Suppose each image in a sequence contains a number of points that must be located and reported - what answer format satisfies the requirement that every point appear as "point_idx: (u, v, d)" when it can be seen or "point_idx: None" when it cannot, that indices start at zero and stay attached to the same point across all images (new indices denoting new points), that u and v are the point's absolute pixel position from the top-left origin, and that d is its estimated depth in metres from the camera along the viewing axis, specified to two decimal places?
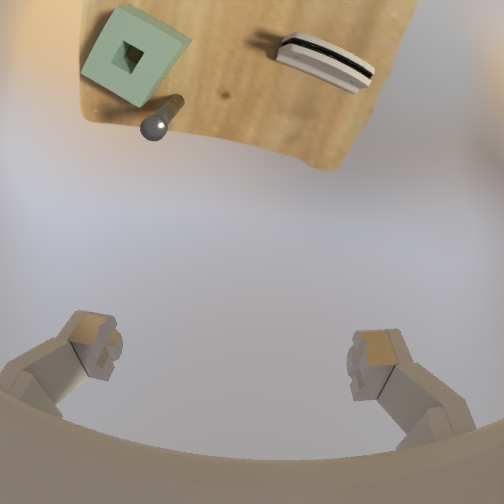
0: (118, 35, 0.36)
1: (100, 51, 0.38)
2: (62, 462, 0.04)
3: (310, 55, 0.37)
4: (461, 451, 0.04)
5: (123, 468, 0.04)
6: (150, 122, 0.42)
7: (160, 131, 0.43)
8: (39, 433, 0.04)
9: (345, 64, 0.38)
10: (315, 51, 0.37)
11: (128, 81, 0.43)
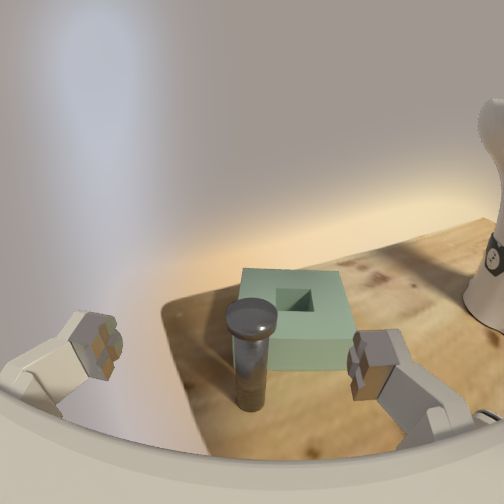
0: (312, 283, 0.43)
1: (282, 276, 0.45)
2: (62, 462, 0.04)
3: None
4: (461, 451, 0.04)
5: (123, 468, 0.04)
6: (262, 306, 0.26)
7: (255, 323, 0.24)
8: (38, 433, 0.04)
9: None
10: None
11: None
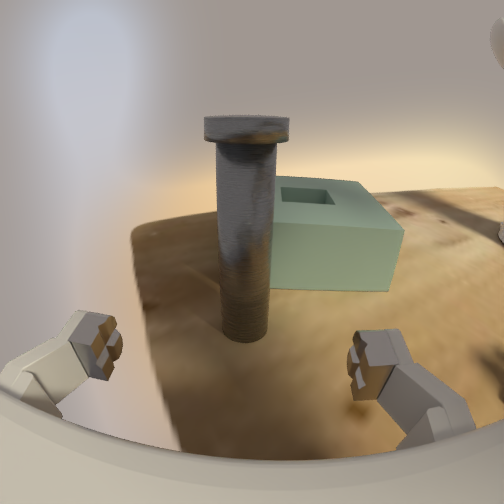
0: (328, 186, 0.32)
1: (288, 180, 0.34)
2: (62, 462, 0.04)
3: None
4: (461, 451, 0.04)
5: (123, 468, 0.04)
6: (263, 116, 0.15)
7: (252, 117, 0.13)
8: (39, 433, 0.04)
9: None
10: None
11: None
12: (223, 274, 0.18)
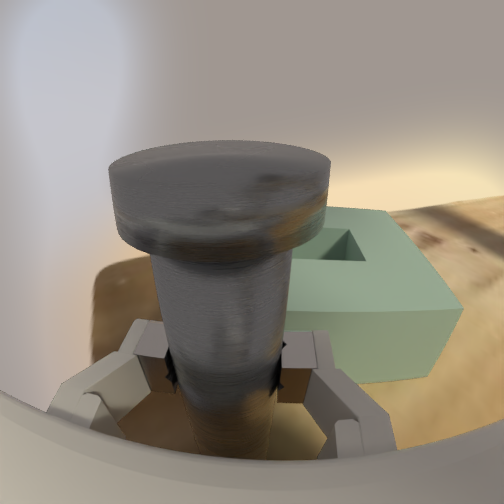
0: (350, 222, 0.24)
1: None
2: (62, 462, 0.04)
3: None
4: (461, 451, 0.04)
5: (123, 468, 0.04)
6: (263, 147, 0.07)
7: (228, 167, 0.05)
8: (39, 433, 0.04)
9: None
10: None
11: None
12: (194, 429, 0.09)
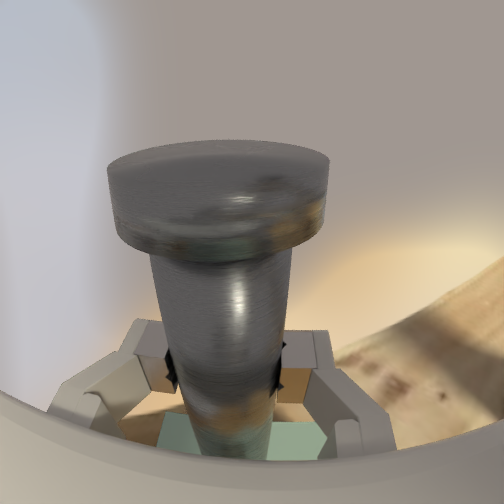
0: (278, 456, 0.20)
1: None
2: (62, 462, 0.04)
3: None
4: (461, 451, 0.04)
5: (123, 468, 0.04)
6: (262, 146, 0.06)
7: (226, 166, 0.05)
8: (39, 433, 0.04)
9: None
10: None
11: None
12: (194, 429, 0.09)
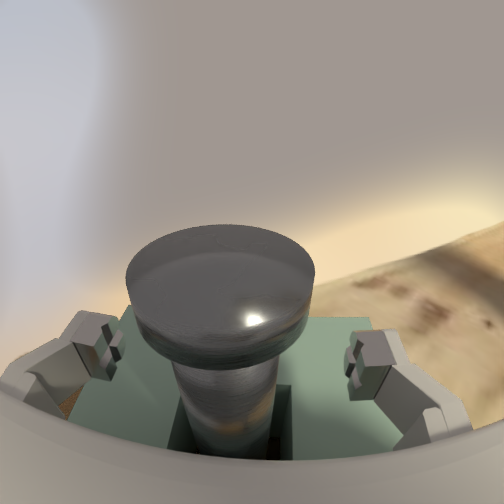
0: (298, 363, 0.14)
1: None
2: (62, 462, 0.04)
3: None
4: (461, 451, 0.04)
5: (123, 468, 0.04)
6: (258, 245, 0.08)
7: (227, 296, 0.06)
8: (39, 433, 0.04)
9: None
10: None
11: None
12: (201, 453, 0.10)
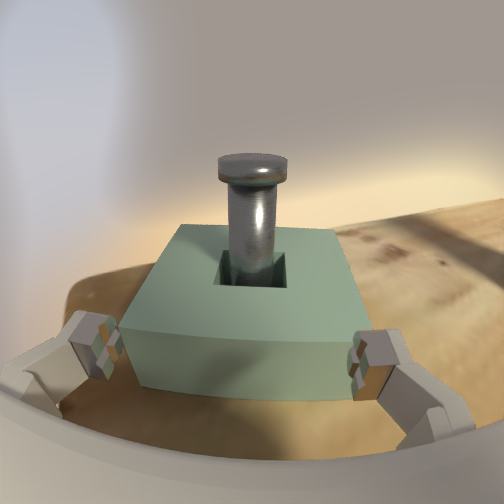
0: (288, 244, 0.25)
1: None
2: (62, 462, 0.04)
3: None
4: (461, 451, 0.04)
5: (123, 468, 0.04)
6: (266, 156, 0.19)
7: (257, 162, 0.17)
8: (38, 433, 0.04)
9: None
10: None
11: (191, 286, 0.20)
12: (234, 285, 0.22)
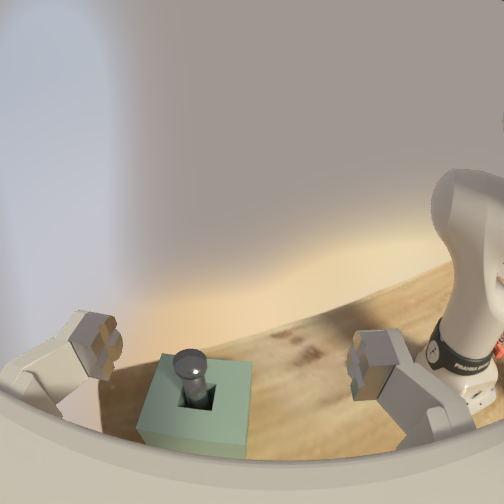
0: (220, 377, 0.42)
1: None
2: (62, 462, 0.04)
3: None
4: (461, 451, 0.04)
5: (123, 468, 0.04)
6: (197, 356, 0.36)
7: (190, 369, 0.34)
8: (38, 432, 0.04)
9: None
10: None
11: (167, 406, 0.37)
12: (188, 403, 0.39)
